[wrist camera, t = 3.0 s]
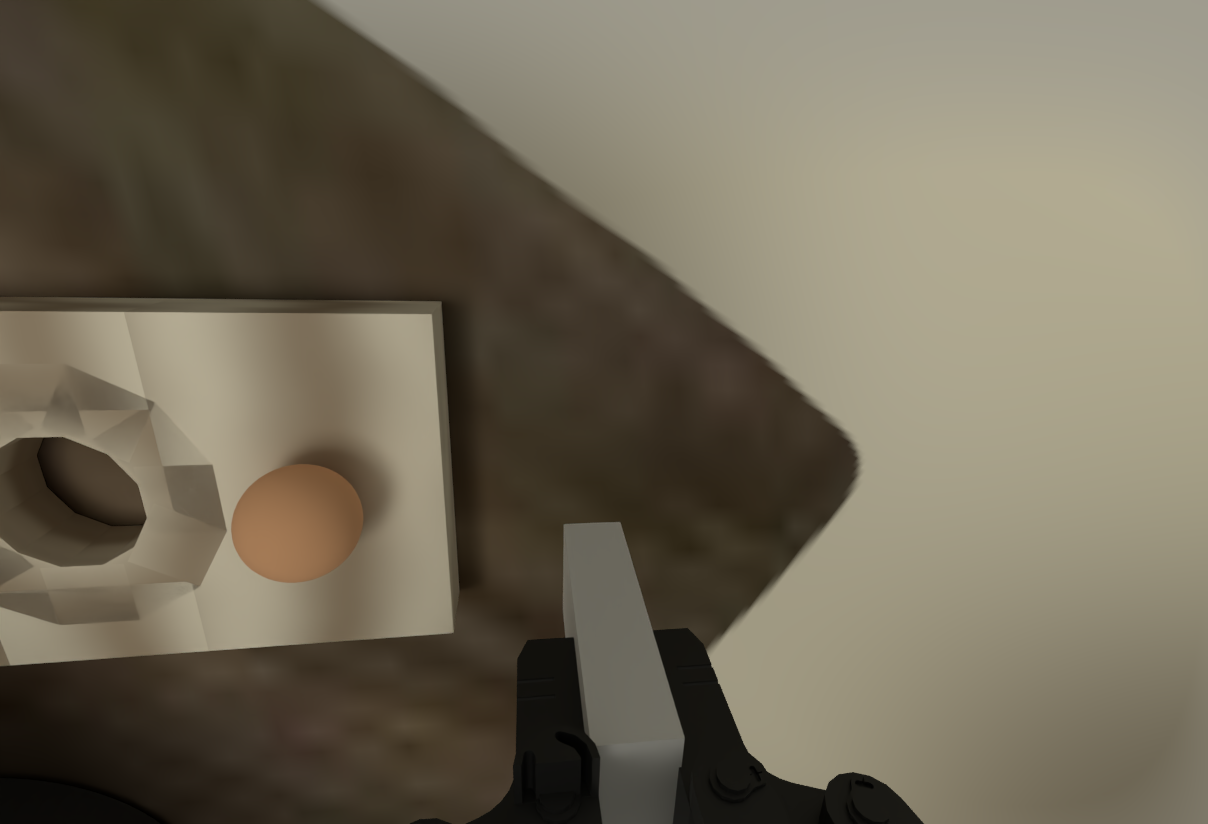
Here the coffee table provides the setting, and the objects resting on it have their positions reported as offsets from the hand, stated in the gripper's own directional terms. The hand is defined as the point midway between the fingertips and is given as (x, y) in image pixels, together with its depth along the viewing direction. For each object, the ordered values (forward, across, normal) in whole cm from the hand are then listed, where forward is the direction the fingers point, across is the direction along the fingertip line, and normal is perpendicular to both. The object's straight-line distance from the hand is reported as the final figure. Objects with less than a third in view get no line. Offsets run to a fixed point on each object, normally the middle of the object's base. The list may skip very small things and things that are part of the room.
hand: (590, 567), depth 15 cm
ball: (+3, -8, 0) cm, 9 cm away
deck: (+7, -12, 0) cm, 14 cm away
